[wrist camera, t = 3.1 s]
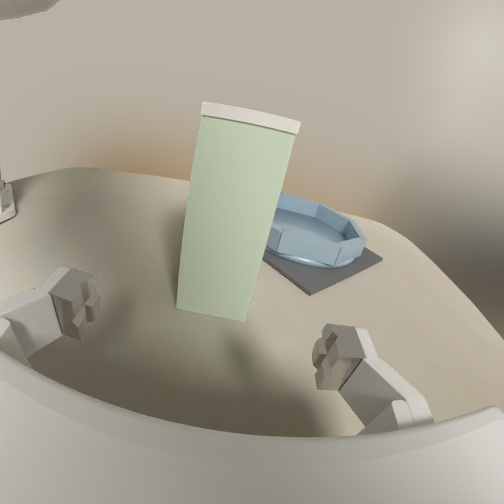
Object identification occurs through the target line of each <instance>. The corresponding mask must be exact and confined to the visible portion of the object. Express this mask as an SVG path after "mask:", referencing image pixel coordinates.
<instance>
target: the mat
mask: <svg viewBox="0 0 504 504" xmlns="http://www.w3.org/2000/svg"><path fill="white" fill-rule="evenodd" d="M262 259H263V260H264V261H265V262H267V263H268V264H269V265H271V266H272V267H273V268H274V269H276V270H277V271H278V272H280V273H281V274H282V275H284V276H285V277H286V278H287V279H289V280H290V281H291V282H293V283H294V284H295V285H297V286H298V287H299V288H300V289H302V290H303V291H304V292H306V293H307V294H308V295H312V294H314V293H316V292H319V291H321V290H323V289H325V288H327V287H329V286H331V285H334V284H336V283H338V282H340V281H342V280H344V279H346V278H348V277H350V276H352V275H354V274H356V273H358V272H360V271H362V270H364V269H366V268H368V267H370V266H372V265H374V264H376V263H378V262H380V261H382V259H383V258H382V257H380V256H378V255H377V254H375V253H374V252H372V251H370V250H369V249H367V248H365V247H364V248H363V251H362V253H361V256H358V257H356V258H355V259H354V261H353V262H352V263H351V264H350V265H348V266H346V267H342V268H335V269H325V268H315V267H310V266H305V265H301V264H297V263H294V262H291V261H288V260H285V259H282V258H280V257H277V256H275V255H273V254H271V253H269V252H267V251H264V255H263V258H262Z"/></svg>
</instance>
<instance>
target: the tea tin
mask: <svg viewBox="0 0 504 504" xmlns="http://www.w3.org/2000/svg"><path fill="white" fill-rule="evenodd" d="M200 114H201V115H202V118H201V124H200V128H199V134H198V139H197V144H196V150H195V155H194V161H193V167H192V173H191V179H190V186H189V193H188V200H187V207H186V214H185V222H184V230H183V238H182V247H181V257H180V267H179V278H178V290H177V304H176V308H177V309H181V310H185V311H190V312H195V313H199V314H204V315H209V316H214V317H219V318H224V319H229V320H235V321H240V322H245V319H246V315H247V312H248V308H249V305H250V301H251V298H252V294H253V291H254V287H255V283H256V280H257V276H258V273H259V269H260V265H261V262H262V258H263V255H264V251H265V247H266V244H267V240H268V236H269V233H270V229H271V225H272V222H273V218H274V214H275V211H276V207H277V203H278V199H279V196H280V192H281V188H282V184H283V181H284V176H285V173H286V169H287V165H288V162H289V158H290V154H291V150H292V146H293V143H294V138H295V135H296V134H297V135H298V131H299V127H300V124H301V122H300V121H296V120H292V119H289V118H284V117H281V116H277V115H272V114H268V113H264V112H259V111H254V110H250V109H245V108H239V107H234V106H228V105H223V104H216V103H210V102H203V104H202V109H201V113H200Z"/></svg>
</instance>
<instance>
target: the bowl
mask: <svg viewBox="0 0 504 504" xmlns="http://www.w3.org/2000/svg"><path fill="white" fill-rule="evenodd" d="M366 241H367V239H366V237H365V236H364V234H363V233H362V231H361V230H360V229H359V227H358V226H357V224H356V223H355V221H353V220H351V219H349V218H348V217H346V216H344V215H342V214H340V213H338V212H336V211H334V210H333V209H331V208H329V207H327V206H325V205H323V204H321V203H317V202H314V201H311V200H307V199H303V198H300V197H296V196H292V195H288V194H284V193H280V196H279V199H278V203H277V207H276V211H275V214H274V218H273V222H272V225H271V229H270V233H269V236H268V240H267V244H266V247H265V251H267V252H269V253H271V254H273V255H275V256H277V257H280V258H282V259H285V260H288V261H291V262H294V263H297V264H301V265H305V266H310V267H315V268H325V269H335V268H342V267H346V266H348V265H350V264H351V263H352V262H353V261H354V259H355V258H356V257H358V256H361V253H362V251H363V248H364V246H365V244H366Z"/></svg>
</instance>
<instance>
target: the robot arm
mask: <svg viewBox="0 0 504 504" xmlns="http://www.w3.org/2000/svg"><path fill="white" fill-rule="evenodd" d="M58 1H59V0H0V20H4V19H13V18H20V17H23V16H27V15H32V14H35V13H39V12H44V11H47V10H48V9H50V8H51V7H53V6H54V5H55V4H56V3H57V2H58ZM15 214H16V210H15V204H14V198H13V192H12V185H11V184H5V182H4V180H2V181H1V170H0V223H1V222H3V221H5V220H7V219H9V218H11V217H13V216H14V215H15ZM97 286H98V282H97V278H96V277H95V276H94V275H91V274H88V273H85V272H82V271H78V270H75V269H72V268H69V267H66V266H59V267H58V268H57V269H56V270H55V271H54V272H53V273H52V274H51V275H50V276H49V277H48V278H47V279H46V281H45V282H44V283H43V284H42V285H41V286H40V287H39V288H38V289H35V288H33V289H31V290H28V291H25V292H23V293H20V294H17V295H15V296H12V297H9V298H7V299H4V300H2V301H0V504H504V412H503V411H502V410H501V409H499V408H498V407H496V406H488V407H485V408H483V409H480V410H477V411H474V412H471V413H468V414H465V415H461V416H458V417H455V418H451V419H447V420H444V421H440V422H436V423H434V421H433V418H432V415H431V413H430V410H429V408H428V405H427V403H426V400H425V398H424V396H423V395H422V394H421V393H419V392H418V391H417V390H416V389H415V388H414V387H413V386H412V385H410V384H409V383H408V382H407V381H406V380H405V379H404V378H403V377H401V376H400V375H399V374H398V373H397V372H396V371H395V370H393V369H392V368H391V367H390V366H389V365H388V364H387V363H386V362H384V361H383V360H379V358H378V356H377V353H376V351H375V348H374V346H373V343H372V341H371V338H370V336H369V334H368V331H367V329H366V328H364V327H355V326H352V327H351V326H343V325H335V324H326V325H325V326H324V328H323V330H322V336H323V337H321V338H320V339H318V340H317V341H316V343H315V345H314V348H313V352H312V362H313V365H314V367H315V368H316V369H317V372H316V373H315V379H316V385H317V389H320V390H335V391H338V392H339V393H340V395H341V396H342V397H343V398H344V400H345V401H346V402H347V404H348V405H349V406H350V408H351V409H352V410H353V411H354V413H355V414H356V415H357V417H358V418H359V419H360V420H361V422H362V423H363V424H364V426H365V428H364V429H363V430H361V431H360V432H359V433H358V434H357V435H354V436H340V437H275V436H260V435H249V434H240V433H232V432H224V431H217V430H211V429H205V428H200V427H194V426H189V425H184V424H180V423H175V422H171V421H167V420H163V419H159V418H155V417H151V416H147V415H144V414H140V413H137V412H134V411H130V410H127V409H124V408H121V407H118V406H115V405H112V404H109V403H107V402H104V401H101V400H98V399H96V398H93V397H91V396H88V395H86V394H83V393H81V392H78V391H76V390H74V389H72V388H69V387H67V386H65V385H63V384H61V383H58V382H56V381H54V380H52V379H50V378H48V377H46V376H44V375H42V374H40V373H38V372H37V371H35V370H33V369H32V367H31V365H30V363H29V361H28V359H27V358H28V357H29V356H31V355H32V354H34V353H35V352H37V351H38V350H40V349H42V348H43V347H45V346H46V345H48V344H49V343H51V342H53V341H54V340H56V339H57V338H59V337H61V336H62V334H64V335H66V336H69V337H72V338H75V339H77V340H80V341H82V339H83V337H84V336H85V334H86V332H87V331H88V329H89V325H88V323H89V322H91V321H93V320H95V318H96V316H97V315H98V311H99V308H100V297H99V294H98V293H97V292H96V290H95V289H96V288H97Z"/></svg>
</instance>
